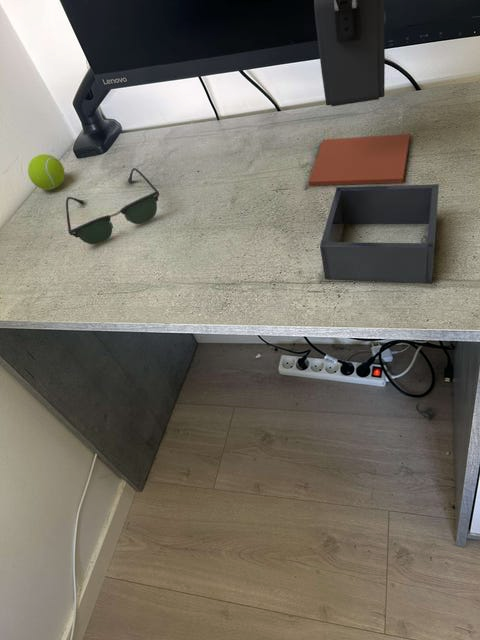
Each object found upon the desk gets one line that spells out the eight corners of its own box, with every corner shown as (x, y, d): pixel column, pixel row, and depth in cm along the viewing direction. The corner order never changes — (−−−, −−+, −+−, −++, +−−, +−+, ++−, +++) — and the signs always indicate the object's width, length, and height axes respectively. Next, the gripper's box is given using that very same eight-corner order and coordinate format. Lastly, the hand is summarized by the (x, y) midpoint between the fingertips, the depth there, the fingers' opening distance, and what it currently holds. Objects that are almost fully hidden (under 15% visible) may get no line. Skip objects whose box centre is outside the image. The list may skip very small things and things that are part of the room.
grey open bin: (436, 220, 69) (438, 184, 65) (431, 283, 62) (434, 247, 57) (340, 220, 74) (336, 187, 70) (324, 279, 67) (319, 246, 62)
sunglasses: (144, 175, 98) (134, 152, 94) (168, 215, 86) (158, 191, 82) (67, 209, 96) (54, 187, 92) (82, 255, 84) (68, 232, 81)
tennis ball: (33, 197, 103) (14, 168, 98) (49, 178, 107) (32, 149, 102) (61, 195, 100) (43, 165, 95) (76, 175, 104) (59, 146, 99)
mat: (409, 138, 84) (409, 133, 84) (403, 182, 76) (403, 178, 76) (323, 143, 90) (323, 139, 89) (309, 185, 82) (308, 181, 81)
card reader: (386, 88, 75) (384, -25, 64) (387, 100, 73) (385, -16, 62) (326, 97, 78) (315, -10, 67) (325, 110, 75) (313, 0, 64)
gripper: (364, -135, 49) (371, 56, 62) (383, -164, 59) (386, 5, 72) (292, -116, 51) (313, 63, 65) (321, -147, 61) (335, 14, 75)
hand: (351, 31), depth 68 cm, fingers closed on card reader, 4 cm apart
